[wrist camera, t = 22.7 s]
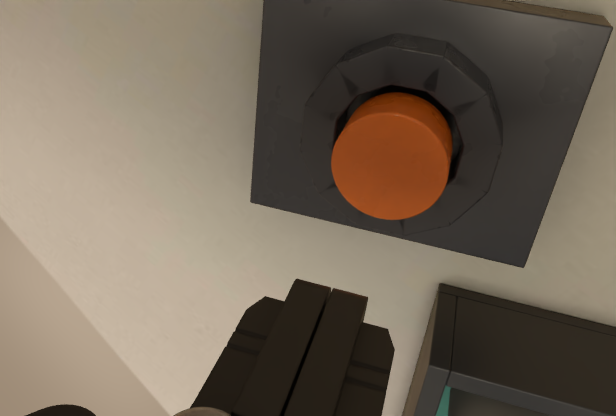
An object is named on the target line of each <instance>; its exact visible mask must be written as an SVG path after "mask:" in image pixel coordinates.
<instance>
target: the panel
mask: <svg viewBox="0 0 616 416" xmlns="http://www.w3.org/2000/svg"><path fill="white" fill-rule="evenodd" d="M612 30H613V27H612V26H611V24H610V23H609V22H608V21H607V20H606V18H605V17H604V16H599V15H593V14H587V13H581V12H574V11H568V10H562V9H556V8H550V7H543V6H537V5H531V4H525V3H519V2H512V1H506V0H264V4H263V19H262V34H261V49H260V64H259V79H258V94H257V109H256V124H255V139H254V154H253V169H252V184H251V199H250V202H251V203H255V204H260V205H264V206H268V207H272V208H276V209H280V210H284V211H289V212H293V213H297V214H301V215H305V216H309V217H314V218H318V219H322V220H326V221H330V222H334V223H339V224H343V225H347V226H351V227H355V228H359V229H363V230H368V231H372V232H376V233H380V234H384V235H388V236H393V237H397V238H401V239H405V240H409V241H413V242H418V243H422V244H426V245H430V246H434V247H438V248H443V249H447V250H451V251H455V252H459V253H463V254H467V255H472V256H476V257H480V258H484V259H488V260H492V261H497V262H501V263H505V264H509V265H513V266H517V267H522V268H524V267H525V264H526V261H527V259H528V256H529V253H530V251H531V248H532V245H533V242H534V240H535V237H536V234H537V232H538V229H539V226H540V224H541V221H542V218H543V216H544V213H545V210H546V207H547V205H548V202H549V199H550V197H551V194H552V191H553V189H554V186H555V183H556V181H557V178H558V175H559V172H560V170H561V167H562V164H563V162H564V159H565V156H566V154H567V151H568V148H569V146H570V143H571V140H572V137H573V135H574V132H575V129H576V127H577V124H578V121H579V119H580V116H581V113H582V111H583V108H584V105H585V102H586V100H587V97H588V94H589V92H590V89H591V86H592V84H593V81H594V78H595V76H596V73H597V70H598V67H599V65H600V62H601V59H602V57H603V54H604V51H605V49H606V46H607V43H608V41H609V38H610V35H611V32H612ZM391 92H402V93H409V94H412V95H416V96H418V97H421V98H423V99H425V100H426V101H428V102H430V103H431V104H432V105H434V106H435V107H436V108H437V109H438V110H439V111H440V112H441V114H442V115H443V116H444V118H445V119H446V121H447V123H448V125H449V128H450V130H451V134H452V141H453V148H452V156H451V162H450V169H449V175H448V180H447V184H446V187H445V189H444V191H443V193H442V195H441V196H440V197H439V199H438V200H437V201H436V202H435V203H434V204H433V205H432V206H431V207H430V208H428V209H427V210H425V211H424V212H422V213H420V214H418V215H416V216H413V217H410V218H406V219H400V220H386V219H380V218H376V217H373V216H370V215H367V214H365V213H363V212H361V211H360V210H358V209H357V208H355V207H354V206H352V205H351V204H350V203H349V202H348V201H347V200H346V199H345V198H344V196H343V195H342V194H341V192H340V191H339V189H338V187H337V185H336V183H335V181H334V178H333V174H332V168H331V157H332V152H333V148H334V145H335V142H336V141H337V139H338V137H339V135H340V134H341V132H342V130H343V129H344V127H345V125H346V124H347V122H348V121H349V119H350V117H351V116H352V114H353V113H354V112H355V110H356V109H357V108H358V107H359V106H360V105H361V104H363V103H364V102H365V101H367V100H369V99H370V98H372V97H375V96H377V95H380V94H384V93H391Z"/></svg>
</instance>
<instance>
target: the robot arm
mask: <svg viewBox="0 0 616 416" xmlns="http://www.w3.org/2000/svg"><path fill="white" fill-rule="evenodd" d="M367 301H368V297H366V296H362V295H358V294H354V293H350V292H347V291H343V290H339V289H335V288H333V290H332V292H331V287H327V286H323V285H319V284H315V283H311V282H307V281H304V280H300V279H296V280H295V281H294V283H293V285H292V287H291V289H290V291H289V293H288V295H287V297H286V300H285V302H284V301H281V300H277V299H273V298H269V297H266V296H265V297H264V298H262V299H261V300H259V301H258V302H257V303H255V304H254V305H252V306H251V307H249V308H248V309H247V310H246V311H245V313H244V315H243V317H242V318H241V320H240V322H239V324H238V325H237V327H236V330H235V332H233V334H232V336H231V338H230V339H229V341H228V344H227V347H225V348H224V350H223V352H222V354H221V355H220V357H219V359H218V361H217V362H216V364H215V366H214V368H213V369H212V371H211V373H210V375H209V376H208V378H207V380H206V382H205V383H204V385H203V387H202V389H201V390H200V392H199V394H198V396H197V398H196V399H195V401H194V403H193V404H192V406H191V407H190V408H189V409H186V410H184V411H181V412H179V413H177V414H175V415H174V416H381V415H382V410H383V405H384V400H385V395H386V390H387V385H388V380H389V375H390V370H391V365H392V360H393V355H394V347H393V344H392V341H391V337H390V334H389V331H388V329H386V328H382V327H378V326H374V325H371V324H367V323H363V321H364V316H365V311H366V306H367ZM26 416H96V415H95V414H94V413H92V412H91V411H89V410H88V409H86V408H83V407H81V406H76V405H56V406H50V407H47V408H44V409H41V410H38V411H36V412H34V413H31V414H28V415H26Z"/></svg>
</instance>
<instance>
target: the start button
mask: <svg viewBox="0 0 616 416" xmlns="http://www.w3.org/2000/svg"><path fill="white" fill-rule="evenodd" d="M452 148H453V141H452V134H451V130H450V128H449V125H448V123H447V121H446V119H445V118H444V116H443V115H442V114H441V112H440V111H439V110H438V109H437V108H436V107H435V106H434V105H432V104H431V103H430V102H428V101H426V100H425V99H423V98H421V97H418V96H416V95H412V94H409V93H402V92H391V93H384V94H380V95H377V96H375V97H372V98H370V99H369V100H367V101H365V102H364V103H363V104H361V105H360V106H359V107H358V108H357V109H356V110H355V112H354V113H353V114H352V116H351V117H350V119H349V121H348V122H347V124H346V125H345V127H344V129H343V130H342V132H341V134H340V135H339V137H338V139H337V141H336V142H335V145H334V148H333V152H332V157H331V168H332V174H333V178H334V181H335V183H336V185H337V187H338V189H339V191H340V192H341V194H342V195H343V196H344V198H345V199H346V200H347V201H348V202H349V203H350V204H351V205H352V206H354V207H355V208H357V209H358V210H360V211H361V212H363V213H365V214H367V215H370V216H373V217H376V218H380V219H386V220H400V219H406V218H410V217H413V216H416V215H418V214H420V213H422V212H424V211H425V210H427V209H428V208H430V207H431V206H432V205H433V204H434V203H435V202H436V201H437V200H438V199H439V197H440V196H441V195H442V193H443V191H444V189H445V187H446V184H447V180H448V175H449V169H450V162H451V156H452Z"/></svg>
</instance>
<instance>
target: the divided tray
mask: <svg viewBox="0 0 616 416" xmlns="http://www.w3.org/2000/svg"><path fill="white" fill-rule="evenodd" d="M451 388H455V389H458V390H462V391H465V392H469V393H473V394H476V395H480V396H483V397H487V398H490V399H494V400H497V401H501V402H504V403H508V404H512V405H515V406H519V407H522V408H526V409H529V410H533V411H536V412H540V413H543V414H547V415H550V416H616V328H614V327H610V326H606V325H602V324H598V323H594V322H590V321H586V320H582V319H578V318H574V317H570V316H566V315H562V314H558V313H554V312H550V311H546V310H542V309H538V308H534V307H530V306H526V305H522V304H518V303H514V302H510V301H506V300H502V299H498V298H494V297H491V296H487V295H483V294H479V293H475V292H471V291H467V290H463V289H459V288H455V287H451V286H447V285H443V284H440V285H439V287H438V291H437V294H436V298H435V301H434V305H433V308H432V312H431V316H430V319H429V323H428V326H427V330H426V333H425V337H424V340H423V344H422V347H421V351H420V354H419V358H418V361H417V365H416V368H415V372H414V375H413V379H412V383H411V386H410V390H409V393H408V397H407V400H406V404H405V407H404V411H403V414H402V416H448V408H449V397H450V389H451Z"/></svg>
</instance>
